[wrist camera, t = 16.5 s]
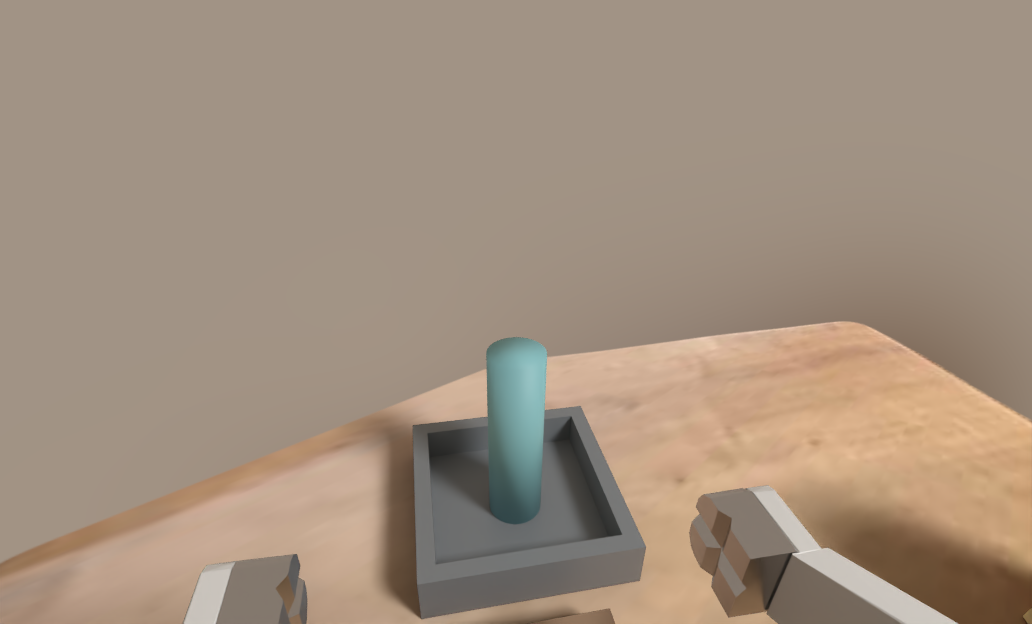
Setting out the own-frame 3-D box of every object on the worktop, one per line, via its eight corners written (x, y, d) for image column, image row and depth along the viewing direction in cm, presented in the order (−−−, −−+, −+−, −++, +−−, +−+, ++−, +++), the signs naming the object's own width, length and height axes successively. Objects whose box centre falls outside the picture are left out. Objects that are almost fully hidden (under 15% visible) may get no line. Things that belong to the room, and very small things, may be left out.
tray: (421, 618, 34) (417, 584, 33) (415, 455, 47) (412, 425, 46) (639, 580, 37) (646, 546, 35) (577, 435, 50) (580, 406, 48)
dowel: (493, 527, 40) (491, 372, 33) (486, 487, 43) (482, 340, 37) (545, 519, 40) (553, 366, 34) (534, 481, 44) (539, 334, 37)
